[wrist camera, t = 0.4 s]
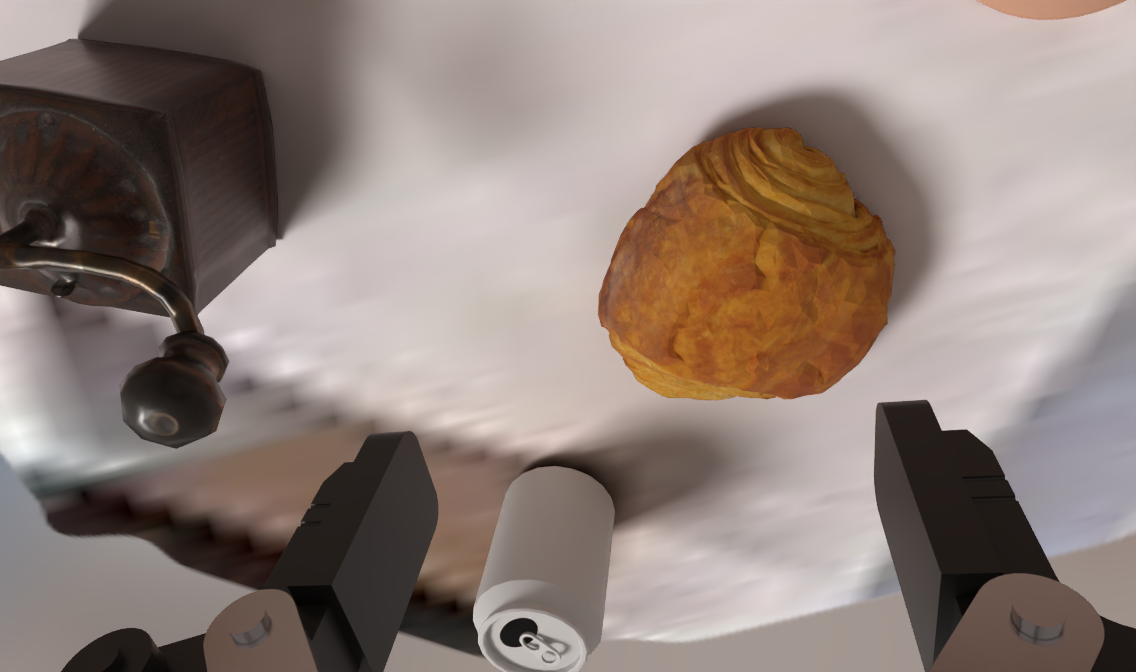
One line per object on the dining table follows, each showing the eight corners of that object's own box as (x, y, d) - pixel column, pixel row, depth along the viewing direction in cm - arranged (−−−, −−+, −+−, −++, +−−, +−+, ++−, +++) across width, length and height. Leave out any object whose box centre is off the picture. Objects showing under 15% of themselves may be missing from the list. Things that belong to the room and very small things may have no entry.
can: (542, 438, 51) (506, 584, 41) (637, 493, 52) (626, 647, 42) (487, 505, 54) (442, 654, 44) (578, 554, 56) (554, 709, 46)
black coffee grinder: (111, 226, 46) (-167, 406, 31) (71, 32, 41) (-297, 137, 25) (365, 269, 46) (206, 475, 31) (362, 78, 40) (162, 216, 25)
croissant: (572, 286, 47) (539, 370, 41) (720, 66, 37) (706, 133, 31) (770, 399, 49) (768, 495, 43) (960, 218, 39) (992, 309, 33)
